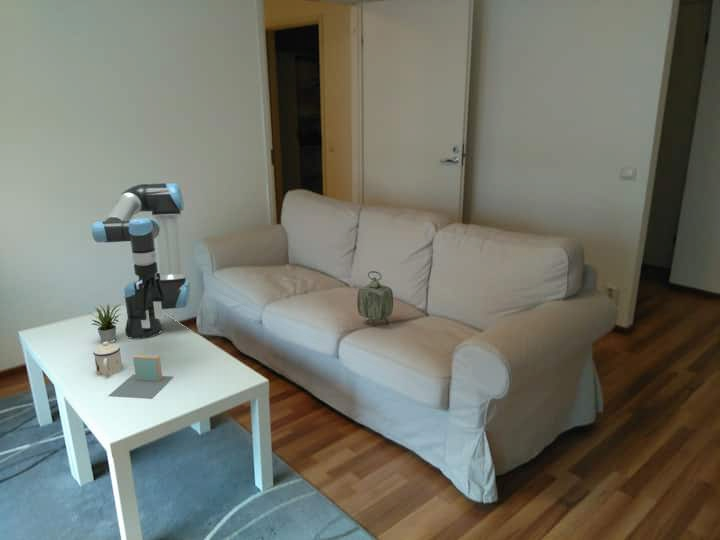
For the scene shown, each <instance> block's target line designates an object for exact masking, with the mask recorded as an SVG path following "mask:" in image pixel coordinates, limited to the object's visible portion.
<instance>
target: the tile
mask: <svg viewBox="0 0 720 540" xmlns="http://www.w3.org/2000/svg"><path fill="white" fill-rule="evenodd" d="M132 361H133V367H134V374H135V375H136V380H145V381H161V380H162V379H163V378H162V376H163V372H162V363H161V357H160V355H150V354H149V355H147V354H135V355H134V356H133V357H132Z"/></svg>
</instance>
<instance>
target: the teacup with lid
mask: <svg viewBox="0 0 720 540" xmlns="http://www.w3.org/2000/svg"><path fill="white" fill-rule="evenodd" d="M92 352H93V353H92V355H94V361H95V368H96V373H97V374H98V376H103V377H104V376H105V377H106V376H111V375H116V374H118V373H119V372H121V371H122V370H123V364H122V358H121V356H122V355H121V347H120V345H119V344H115V343H109V342H103V343H102V344H101V345H98V346H97V347H95V348H94V350H93V351H92Z"/></svg>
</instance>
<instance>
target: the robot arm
mask: <svg viewBox="0 0 720 540" xmlns="http://www.w3.org/2000/svg"><path fill="white" fill-rule="evenodd" d="M184 210H185V203H184V197H183V194H182V190H181V187H180V186H179V185H178V184H176V183H171V182H170V183H167V182H165V183H149V184H148V183H147V184H146V183H140V184H136V185H134V186H131V187H129V188H127V189H126V190H125V191H123V192H122V193H120V195H119V196H118V197H117V200H116V204H115V206H114V207H113V209H112V210H111V212H109V215H108V216H107V217H106V218H105V220H104V221H101V220H100V221H95V222H93V223H92V227H91V235H92V238H93V240H94V242H96V243H105V244H107V243H118V242H119V243H120V242H121V243H122V242H123V243H124V242H130V246H131V253H132V254H131V255H132V261H133V262H132V263H133V264H134V265H133V268H134V274H135V275H136V276H137V277H138V280H134V281H132V282H129V283H128V284H126V285H125V286H124V293H123V294H124V297H123V298H124V302H125V308H126V314H127V320H126V324H125V325H126V326H125V329H124V332H125V336H126V335H127V336H128V337H132V338H143V337H149V338H151V337H150V336H153V335H155V336H157V335H156V334H158V333H159V332H160V331H161V330H162V331H163V325H162V323H161V321H160V319H161V320H163V319H164V316H163V310H169V309H171V310H172V309H175V310H177V309H181V308H186V307H187V306H188V304H189V301H190V295H191V283H190V281H189V280H186V276H185V275H184V274H183V273H182V264H181V263H182V262H181V250H180V237H179V235H180V234H179V222H178V219H179V218H180V216H181V213H182V212H181V211H184ZM143 212H145V213H146V212H151V216H152V217H153V218H151V217H147V218H145V217H139V218H134V215H137V214H138V213H143ZM133 218H134V219H133ZM154 218H155V219H154ZM156 238H157V245H158V257H159V270H160V273H159V272H158V263H157V262H156V261H157V253H156V247H155V239H156ZM159 334H160V333H159ZM159 334H158V335H159ZM127 336H126V337H127ZM128 337H127V338H128ZM153 337H154V336H153ZM132 338H131V339H132ZM143 339H144V338H143Z"/></svg>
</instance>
